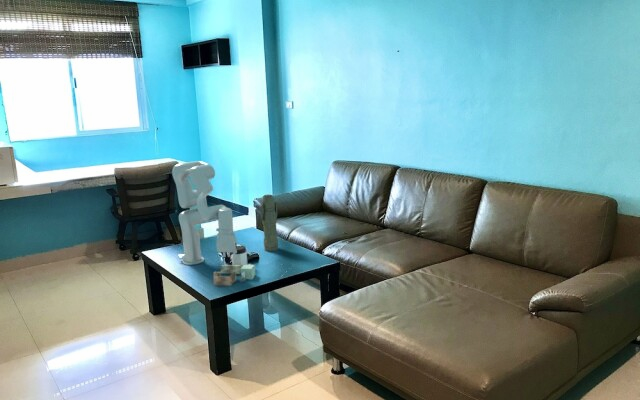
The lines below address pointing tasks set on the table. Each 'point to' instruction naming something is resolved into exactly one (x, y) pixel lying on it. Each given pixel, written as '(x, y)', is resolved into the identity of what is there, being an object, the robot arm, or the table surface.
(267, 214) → the olive brown statue
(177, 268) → the table surface
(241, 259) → the jar
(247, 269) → the block
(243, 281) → the goal posts
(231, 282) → the tunnel
